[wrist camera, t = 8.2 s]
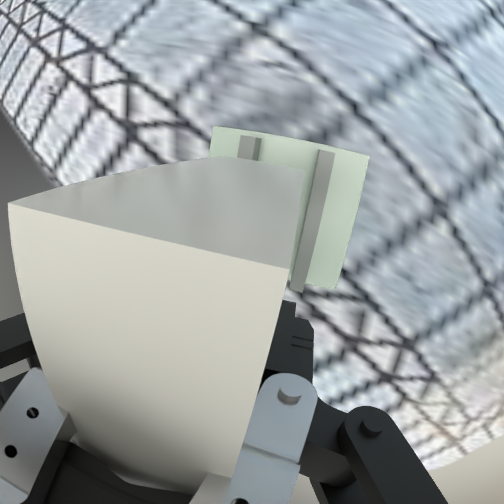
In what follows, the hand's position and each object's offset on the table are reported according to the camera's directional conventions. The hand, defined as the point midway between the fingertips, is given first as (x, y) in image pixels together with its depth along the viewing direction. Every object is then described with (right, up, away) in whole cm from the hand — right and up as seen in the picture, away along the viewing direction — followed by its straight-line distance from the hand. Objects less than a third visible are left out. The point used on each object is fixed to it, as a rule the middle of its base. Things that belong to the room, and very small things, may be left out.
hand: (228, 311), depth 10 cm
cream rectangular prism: (0, +1, +2) cm, 2 cm away
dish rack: (+3, +6, +18) cm, 19 cm away
